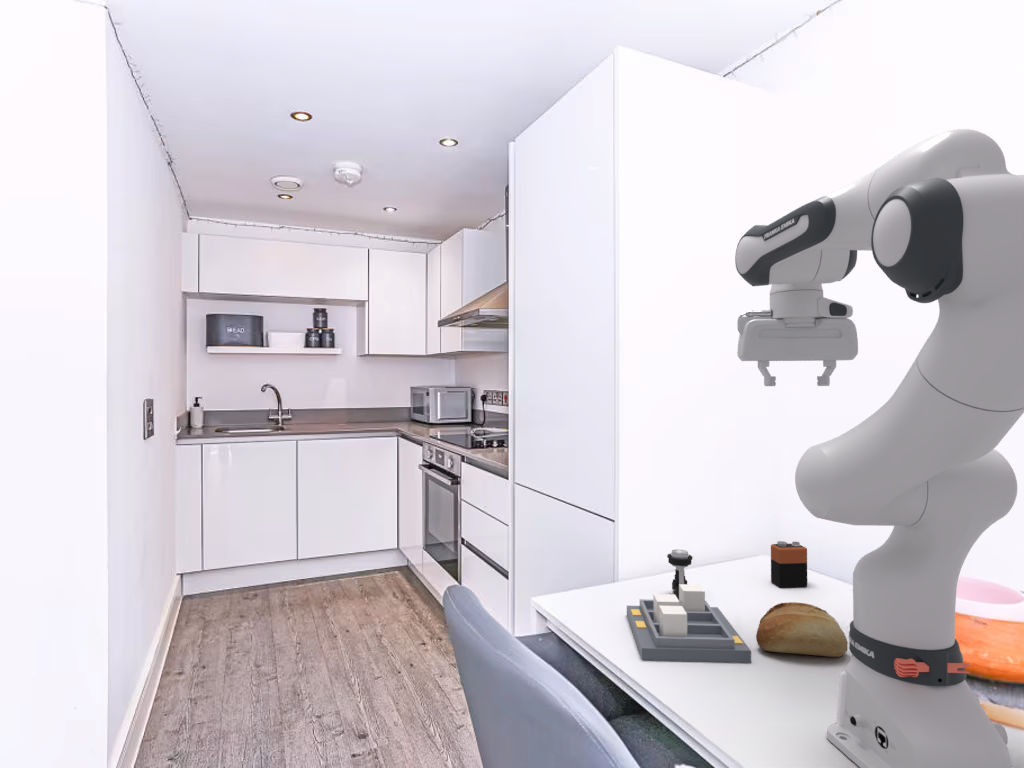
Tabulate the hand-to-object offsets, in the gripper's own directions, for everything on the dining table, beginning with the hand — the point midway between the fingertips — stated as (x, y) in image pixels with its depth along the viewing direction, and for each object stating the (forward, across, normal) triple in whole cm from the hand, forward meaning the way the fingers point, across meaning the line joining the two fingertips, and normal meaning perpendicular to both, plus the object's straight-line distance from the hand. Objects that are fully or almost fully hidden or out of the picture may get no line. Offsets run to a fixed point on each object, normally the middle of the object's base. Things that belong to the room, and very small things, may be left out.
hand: (796, 386), depth 109 cm
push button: (+46, -16, +23) cm, 54 cm away
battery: (+46, +11, +32) cm, 57 cm away
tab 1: (+44, -23, +1) cm, 50 cm away
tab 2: (+44, -23, -5) cm, 50 cm away
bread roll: (+46, -1, -4) cm, 47 cm away
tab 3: (+44, -17, +7) cm, 48 cm away
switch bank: (+46, -20, +1) cm, 50 cm away
